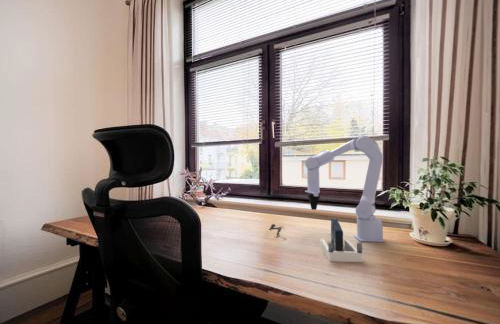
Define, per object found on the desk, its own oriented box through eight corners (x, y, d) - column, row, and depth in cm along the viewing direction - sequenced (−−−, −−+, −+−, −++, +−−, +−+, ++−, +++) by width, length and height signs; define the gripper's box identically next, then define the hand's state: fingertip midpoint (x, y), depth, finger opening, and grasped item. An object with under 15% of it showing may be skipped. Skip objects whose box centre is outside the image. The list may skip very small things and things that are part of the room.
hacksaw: (271, 226, 124) (271, 223, 124) (290, 227, 121) (290, 224, 121) (261, 240, 101) (261, 236, 101) (285, 241, 98) (285, 238, 98)
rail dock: (348, 246, 90) (348, 230, 90) (363, 262, 75) (362, 243, 75) (320, 245, 91) (319, 230, 92) (329, 261, 76) (328, 243, 76)
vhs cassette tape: (343, 260, 77) (343, 230, 77) (334, 259, 78) (333, 230, 78) (338, 243, 94) (338, 218, 95) (331, 242, 95) (330, 218, 96)
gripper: (303, 180, 121) (303, 206, 121) (307, 182, 107) (307, 212, 107) (316, 180, 121) (317, 206, 120) (322, 182, 106) (323, 212, 106)
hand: (313, 209), depth 113 cm, fingers closed
